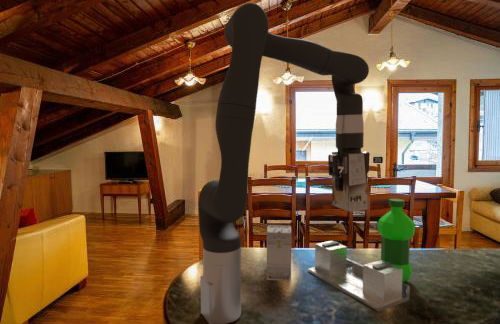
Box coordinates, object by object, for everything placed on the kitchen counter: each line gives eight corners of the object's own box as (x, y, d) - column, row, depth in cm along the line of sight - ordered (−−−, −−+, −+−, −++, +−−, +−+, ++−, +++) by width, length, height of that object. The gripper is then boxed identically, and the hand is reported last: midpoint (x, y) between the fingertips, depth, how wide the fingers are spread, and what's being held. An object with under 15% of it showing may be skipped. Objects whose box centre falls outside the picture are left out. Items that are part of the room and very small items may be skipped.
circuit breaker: (290, 263, 114) (290, 220, 113) (291, 280, 100) (291, 233, 98) (268, 262, 114) (268, 220, 113) (266, 279, 100) (266, 232, 99)
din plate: (378, 311, 82) (379, 274, 81) (307, 271, 107) (308, 242, 106) (409, 300, 88) (410, 265, 87) (335, 264, 112) (335, 237, 112)
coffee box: (368, 210, 90) (369, 152, 89) (348, 212, 89) (349, 153, 87) (349, 203, 99) (349, 150, 98) (330, 205, 97) (330, 151, 96)
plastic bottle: (414, 278, 101) (417, 199, 100) (409, 291, 93) (412, 204, 91) (380, 270, 107) (383, 195, 105) (372, 282, 98) (375, 201, 96)
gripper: (357, 131, 98) (357, 185, 100) (320, 132, 92) (321, 190, 93) (377, 130, 92) (377, 188, 93) (340, 132, 85) (340, 194, 87)
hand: (349, 189), depth 93 cm, fingers closed on coffee box, 7 cm apart
